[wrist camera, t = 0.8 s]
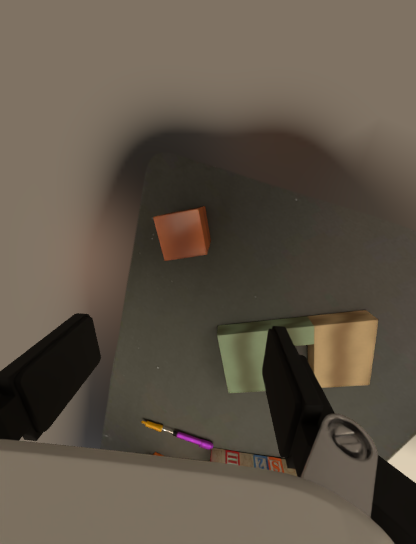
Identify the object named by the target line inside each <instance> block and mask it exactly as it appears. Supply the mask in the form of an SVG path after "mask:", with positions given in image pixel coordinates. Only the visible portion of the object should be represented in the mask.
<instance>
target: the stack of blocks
mask: <svg viewBox="0 0 416 544" xmlns="http://www.w3.org/2000/svg"><path fill="white" fill-rule="evenodd" d="M210 462H218V463H225V464H232V465H239V466H247V467H254V468H261V469H267V470H272V471H277V472H282V473H287V474H290V475H293V476H297V473H296V470H295V469H290V468H287V464H286V460H285V459H280V458H275V457H269V456H268V457H266V456H261V455H254V454H248V453H241V452H236V451H230V450H224V449H218V448H212V450H211V458H210Z"/></svg>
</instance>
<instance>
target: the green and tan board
mask: <svg viewBox="0 0 416 544" xmlns="http://www.w3.org/2000/svg"><path fill="white" fill-rule="evenodd" d="M273 326H283V327H285V328H286V329H287V331H288V333H289V335H290V338H291V340H292V342H293V344H294V346H299V345H308V363H309V365H310V367H311V369H312V371H313V373H314V374H315V376H316V378H317V380H318V382H319V384H320V386H321V388H325V387H342V386H359V385H369V384H370V377H371V370H372V362H373V355H374V348H375V340H376V333H377V326H378V319H377V318H375V317H374V316H373V315H371V314H370V313H369V312H368V311H366V310H362V311H352V312H343V313H333V314H324V315H314V316H305V317H295V318H286V319H276V320H267V321H257V322H248V323H238V324H229V325H219V326H218V331H217V337H218V342H219V347H220V352H221V357H222V362H223V367H224V372H225V378H226V383H227V388H228V393H240V392H257V391H266V390H265V385H264V381H263V376H262V366H263V360H264V354H265V348H266V341H267V335H268V330H269V329H272V327H273Z"/></svg>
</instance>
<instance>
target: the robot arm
mask: <svg viewBox="0 0 416 544" xmlns="http://www.w3.org/2000/svg"><path fill="white" fill-rule="evenodd" d="M100 359H101V355H100V351H99V346H98V342H97V337H96V333H95V328H94V324H93V320H92V318H91V317H90V316H89V315H88V314H79V313H78V314H74V315H73V316H72V317H71V318H69V319H68V320H67V321H65V322H64V323H63V324H61V325H60V326H59V327H57V328H56V329H55V330H53V331H52V332H51V333H50V334H48V335H47V336H46V337H44V338H43V339H42V340H40V341H39V342H38V343H37V344H35V345H34V346H33V347H31V348H30V349H29V350H27V351H26V352H25V353H24V354H22V355H21V356H20V357H18V358H17V359H16V360H14V361H13V362H12V363H11V364H9V365H8V366H7V367H5V368H4V369H3V370H2V371H0V544H416V483H415V482H413V481H412V480H411V479H409V478H408V477H406V476H405V475H404V474H403V473H401V472H400V471H399V470H397V469H396V468H395V467H393V466H392V465H391V464H389V463H388V462H387V461H385V460H384V459H383V458H381V457H380V456H379V455H378V454H377V448H376V446H375V444H374V441H373V440H372V438H371V437H370V435H369V434H368V433H367V432H366V431H365V430H364V429H363V428H362V427H361V426H360V425H359V424H358V423H356V422H355V421H354V420H352V419H350V418H348V417H346V416H344V415H340V414H335V413H334V411H333V409H332V407H331V405H330V403H329V401H328V399H327V398H326V396H325V394H324V392H323V390H322V388H321V386H320V384H319V382H318V380H317V378H316V376H315V374H314V373H313V371H312V369H311V367H310V365H309V363H308V361H307V359H306V358H305V357H304V356H303V355H299V354H298V352H297V350H296V348H295V346H294V344H293V342H292V340H291V338H290V335H289V333H288V331H287V329H286V328H285V327H283V326H273V327H272V329H269V330H268V335H267V341H266V348H265V354H264V360H263V366H262V376H263V381H264V385H265V390H266V394H267V399H268V404H269V408H270V413H271V417H272V422H273V426H274V431H275V435H276V440H277V444H278V449H279V453H280V456H281V457H285V460H286V464H287V468H290V469H295V470H296V473H297V476H293V475H290V474H287V473H282V472H277V471H272V470H267V469H261V468H254V467H247V466H239V465H232V464H225V463H218V462H209V461H200V460H192V459H183V458H174V457H166V456H157V455H148V454H139V453H130V452H121V451H112V450H103V449H94V448H84V447H75V446H66V445H56V444H45V443H37V442H36V443H35V442H26V441H19V440H20V438H21V437H22V436H23V438H24V439H25V440H33V441H37V440H38V438H39V437H40V436H41V435H42V433H43V432H45V431H46V430H47V429H48V428H49V427H50V426H51V425H52V424H53V422H54V421H55V420H56V418H57V417H58V416H59V414H60V413H61V412H62V411H63V409H64V408H65V407H66V405H67V404H68V402H69V401H70V400H71V399H72V398H73V396H74V395H75V394H76V392H77V391H78V390H79V388H80V387H81V385H82V384H83V383H84V382H85V381H86V379H87V378H88V377H89V375H90V374H91V373H92V371H93V370H94V368H95V367H96V366H97V365H98V363H99V361H100Z"/></svg>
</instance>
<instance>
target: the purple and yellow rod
mask: <svg viewBox="0 0 416 544" xmlns="http://www.w3.org/2000/svg"><path fill="white" fill-rule="evenodd" d="M141 423H143V424H145V426H146V427H149V428H152V429H155V430H156V431H159V432H161V430H165V431H168V432H171V433H173V436H176V437H178V438H180V439H183V440H186V441H189V442H192V443H195V444H198V445H199V447H202V448H205V449H208V450H209V449H212V448H213V443H211V442H210V441H207V440H204V439H199V438H196V437H194V436H191V435H188V434H185V433H182V432H179V431H173V432H172V431H169V430H166V429H163V428H162V427H163V425H160V424H156V423H153V422H150V421H147V422H145V421H142V422H141Z"/></svg>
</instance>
